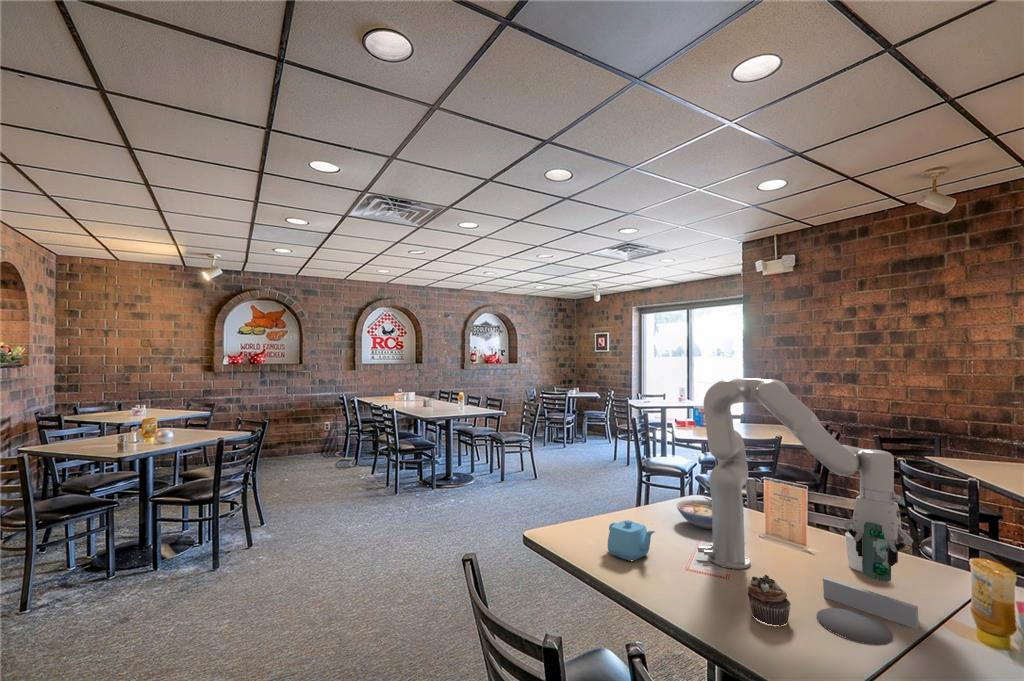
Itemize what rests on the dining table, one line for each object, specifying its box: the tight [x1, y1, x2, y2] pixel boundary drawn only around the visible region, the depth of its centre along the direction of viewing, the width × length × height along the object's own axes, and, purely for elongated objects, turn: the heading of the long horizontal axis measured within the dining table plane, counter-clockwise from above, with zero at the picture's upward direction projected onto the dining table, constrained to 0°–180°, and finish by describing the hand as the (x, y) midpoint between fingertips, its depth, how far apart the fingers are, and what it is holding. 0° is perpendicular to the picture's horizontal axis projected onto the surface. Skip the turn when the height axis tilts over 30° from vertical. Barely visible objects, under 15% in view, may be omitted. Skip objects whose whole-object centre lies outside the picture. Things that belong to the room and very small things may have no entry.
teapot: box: [607, 519, 656, 562], centre depth 158 cm, size 12×18×12 cm
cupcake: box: [747, 574, 792, 626], centre depth 119 cm, size 10×10×10 cm
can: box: [861, 522, 892, 583], centre depth 130 cm, size 6×6×15 cm
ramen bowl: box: [675, 497, 712, 530], centre depth 187 cm, size 25×23×8 cm
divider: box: [822, 577, 920, 630], centre depth 122 cm, size 2×20×5 cm, turn 37°
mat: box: [816, 607, 893, 645], centre depth 115 cm, size 15×15×1 cm
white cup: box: [844, 531, 862, 573], centre depth 148 cm, size 8×8×10 cm
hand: (876, 559), depth 130 cm, fingers closed on can, 6 cm apart
